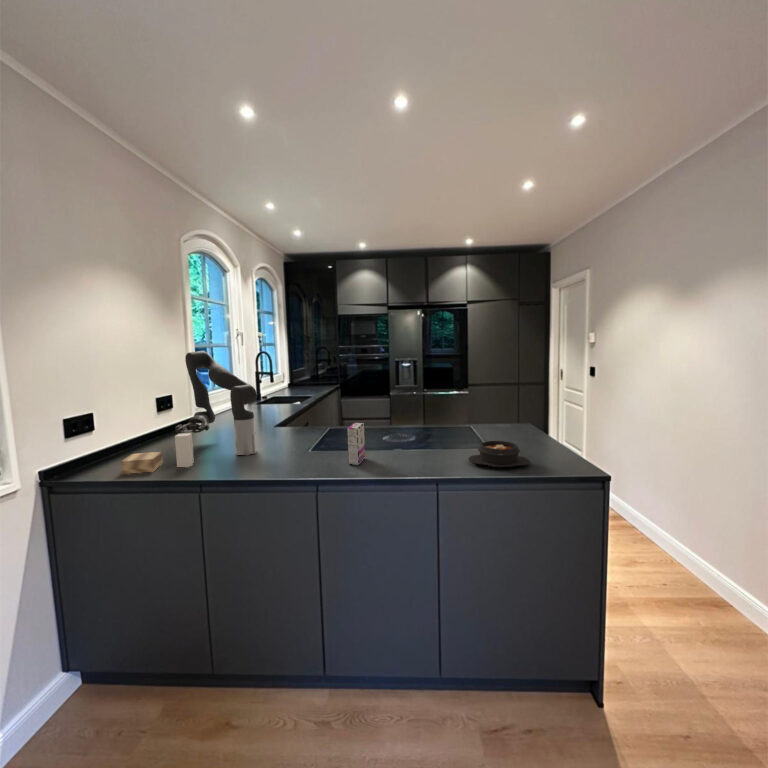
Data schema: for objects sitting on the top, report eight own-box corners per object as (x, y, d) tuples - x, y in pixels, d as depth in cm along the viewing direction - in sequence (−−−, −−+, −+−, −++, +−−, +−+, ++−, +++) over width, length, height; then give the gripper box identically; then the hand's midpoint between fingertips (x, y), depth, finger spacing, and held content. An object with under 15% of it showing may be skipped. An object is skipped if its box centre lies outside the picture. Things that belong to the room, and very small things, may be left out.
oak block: (162, 464, 181) (161, 451, 180) (153, 472, 169) (152, 458, 169) (133, 467, 178) (132, 453, 178) (122, 475, 167) (120, 461, 166)
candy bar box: (355, 458, 183) (353, 422, 181) (365, 458, 182) (364, 422, 180) (347, 465, 172) (346, 427, 170) (359, 466, 171) (358, 428, 169)
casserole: (469, 470, 162) (469, 450, 161) (467, 457, 180) (467, 439, 179) (534, 472, 158) (534, 451, 157) (525, 458, 176) (525, 440, 175)
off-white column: (193, 463, 181) (191, 432, 179) (190, 466, 175) (188, 435, 174) (180, 464, 180) (178, 433, 178) (177, 468, 174) (174, 436, 173)
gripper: (181, 417, 201) (172, 423, 185) (212, 415, 204) (205, 422, 188) (182, 431, 202) (173, 439, 186) (212, 430, 205) (206, 437, 189)
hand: (189, 430), depth 187 cm, fingers open, 8 cm apart
